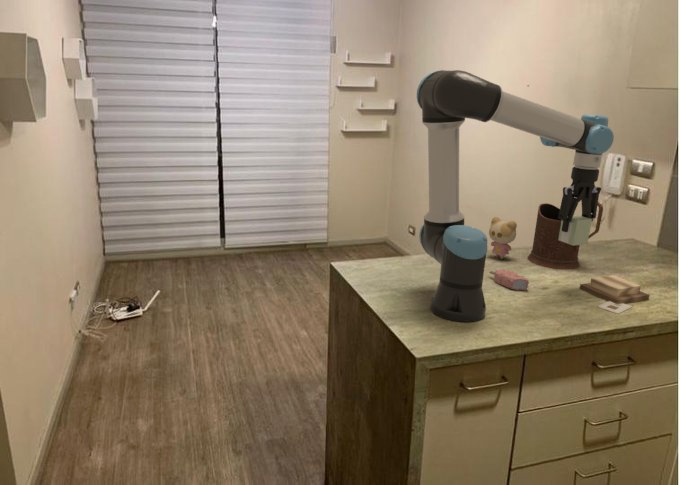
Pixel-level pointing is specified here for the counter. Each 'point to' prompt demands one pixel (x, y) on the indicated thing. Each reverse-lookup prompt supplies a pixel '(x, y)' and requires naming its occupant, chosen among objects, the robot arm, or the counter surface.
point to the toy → (502, 236)
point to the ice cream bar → (510, 279)
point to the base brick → (615, 289)
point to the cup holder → (554, 240)
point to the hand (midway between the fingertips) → (572, 240)
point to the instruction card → (614, 307)
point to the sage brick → (578, 230)
